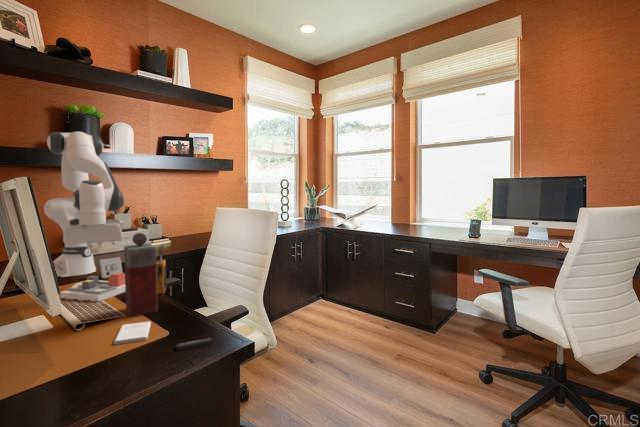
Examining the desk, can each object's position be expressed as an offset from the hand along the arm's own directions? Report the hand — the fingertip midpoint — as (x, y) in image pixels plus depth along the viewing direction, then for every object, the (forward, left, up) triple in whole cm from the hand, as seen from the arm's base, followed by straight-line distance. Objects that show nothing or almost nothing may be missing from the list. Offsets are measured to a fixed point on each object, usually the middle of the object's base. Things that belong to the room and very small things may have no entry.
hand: (94, 253), depth 138 cm
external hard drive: (+44, -29, -18) cm, 56 cm away
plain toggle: (-5, +3, -15) cm, 16 cm away
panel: (0, +1, -17) cm, 17 cm away
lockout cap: (+5, +6, -15) cm, 16 cm away
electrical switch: (-18, +25, -17) cm, 35 cm away
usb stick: (+67, -32, -18) cm, 76 cm away
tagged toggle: (0, -3, -15) cm, 15 cm away
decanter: (+31, -11, -17) cm, 38 cm away
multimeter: (+21, +7, -17) cm, 28 cm away
